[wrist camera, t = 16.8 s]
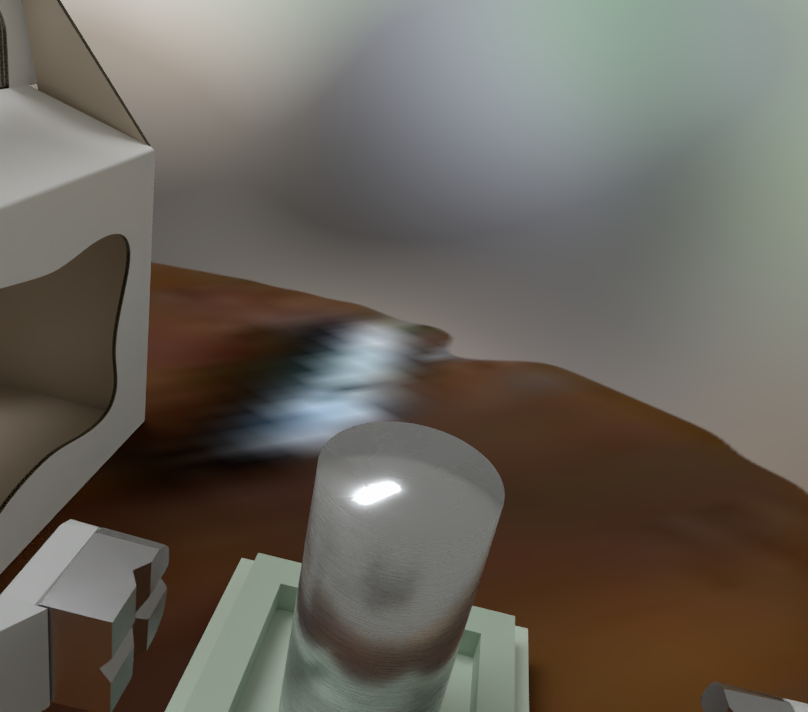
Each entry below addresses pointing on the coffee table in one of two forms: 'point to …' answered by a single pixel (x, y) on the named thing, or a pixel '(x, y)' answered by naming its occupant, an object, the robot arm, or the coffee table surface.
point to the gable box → (66, 268)
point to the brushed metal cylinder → (388, 569)
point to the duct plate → (269, 639)
